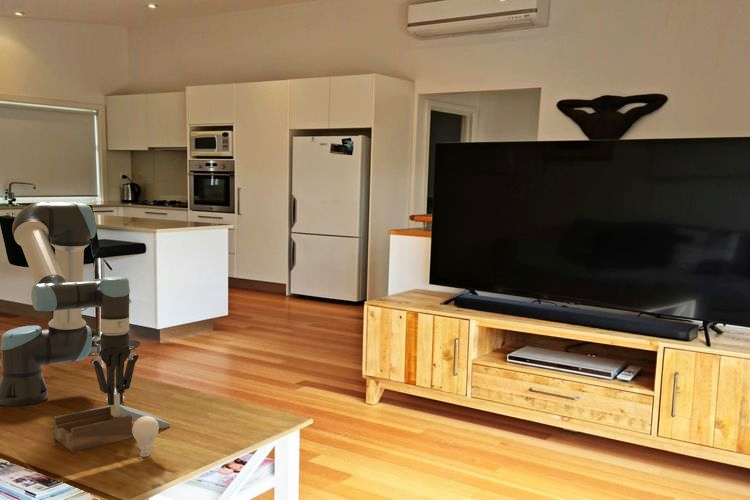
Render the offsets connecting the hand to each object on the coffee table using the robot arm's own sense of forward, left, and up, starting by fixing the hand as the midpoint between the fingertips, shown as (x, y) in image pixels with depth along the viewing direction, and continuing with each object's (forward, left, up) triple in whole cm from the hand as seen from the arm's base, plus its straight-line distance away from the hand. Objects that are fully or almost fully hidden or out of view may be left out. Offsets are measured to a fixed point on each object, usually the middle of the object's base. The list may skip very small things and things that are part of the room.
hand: (115, 415), depth 191 cm
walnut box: (0, -6, -6) cm, 9 cm away
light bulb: (+20, -1, -6) cm, 21 cm away
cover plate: (0, +7, -3) cm, 8 cm away
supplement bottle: (-12, +5, -6) cm, 14 cm away
